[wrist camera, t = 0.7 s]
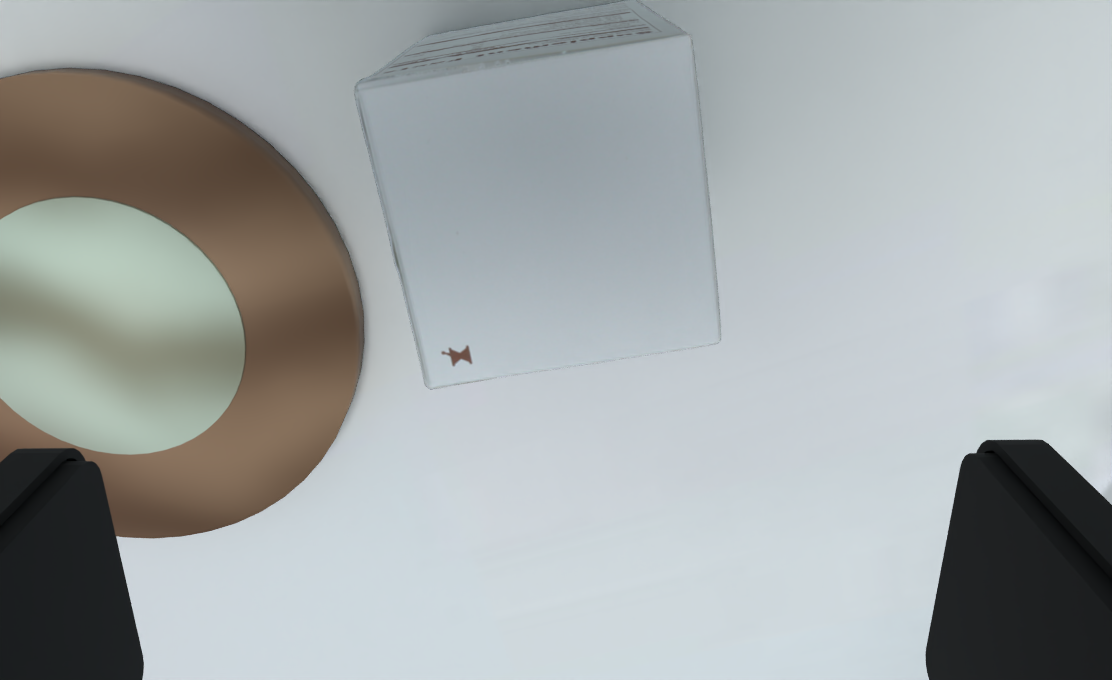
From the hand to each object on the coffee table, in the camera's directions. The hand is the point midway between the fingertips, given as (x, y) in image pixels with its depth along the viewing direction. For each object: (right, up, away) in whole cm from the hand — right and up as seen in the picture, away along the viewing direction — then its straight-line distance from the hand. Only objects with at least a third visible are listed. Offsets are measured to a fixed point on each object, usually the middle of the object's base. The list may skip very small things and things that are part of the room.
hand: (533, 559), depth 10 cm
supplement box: (0, +10, +22) cm, 24 cm away
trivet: (-16, +3, +24) cm, 29 cm away
